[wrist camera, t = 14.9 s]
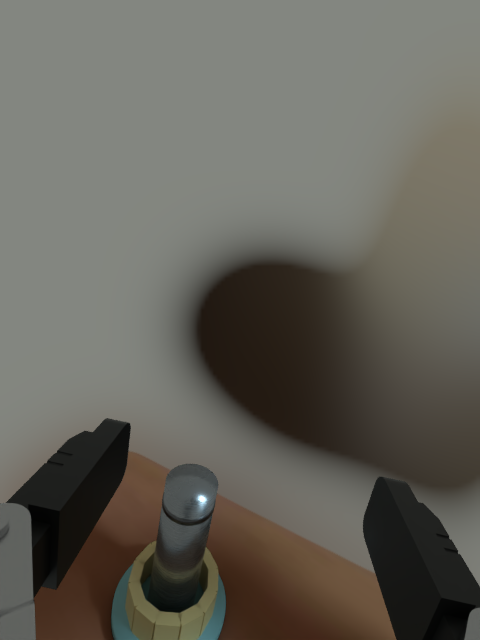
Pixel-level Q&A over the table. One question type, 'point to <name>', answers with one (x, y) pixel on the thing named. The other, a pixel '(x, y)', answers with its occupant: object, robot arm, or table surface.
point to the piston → (182, 537)
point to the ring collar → (167, 627)
